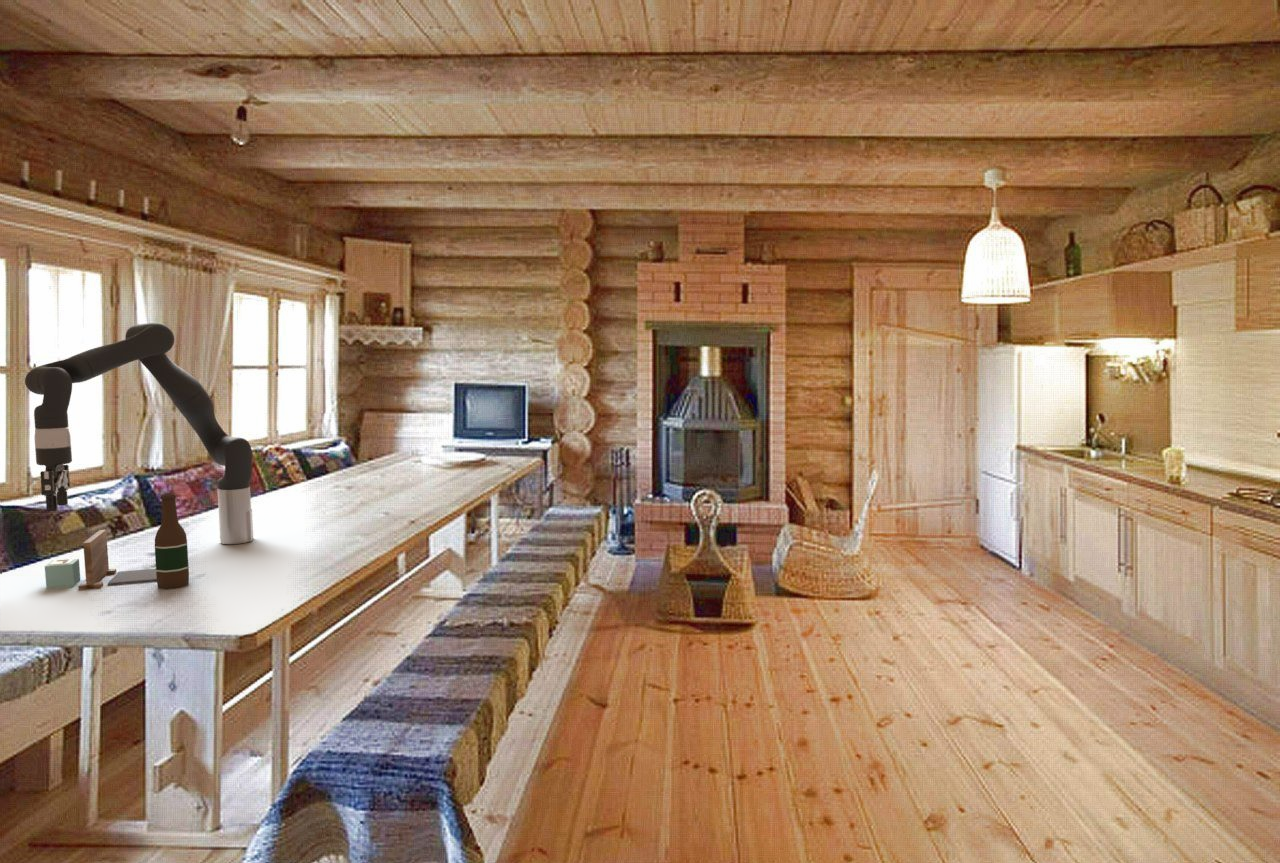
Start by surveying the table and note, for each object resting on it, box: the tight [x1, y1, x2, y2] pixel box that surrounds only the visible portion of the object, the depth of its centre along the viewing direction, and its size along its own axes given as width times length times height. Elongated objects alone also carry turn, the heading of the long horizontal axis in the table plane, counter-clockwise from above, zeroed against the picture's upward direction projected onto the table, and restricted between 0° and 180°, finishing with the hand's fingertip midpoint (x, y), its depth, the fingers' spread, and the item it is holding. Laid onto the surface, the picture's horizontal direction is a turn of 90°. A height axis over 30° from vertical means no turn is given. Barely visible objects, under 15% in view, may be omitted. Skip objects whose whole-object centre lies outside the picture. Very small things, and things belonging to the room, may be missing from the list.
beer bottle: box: [154, 492, 190, 590], centre depth 215 cm, size 8×8×24 cm
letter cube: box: [44, 558, 81, 590], centre depth 217 cm, size 6×6×6 cm
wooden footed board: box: [77, 529, 117, 591], centre depth 220 cm, size 5×16×12 cm, turn 20°
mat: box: [107, 568, 157, 586], centre depth 224 cm, size 12×12×1 cm
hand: (57, 508), depth 215 cm, fingers open, 8 cm apart
